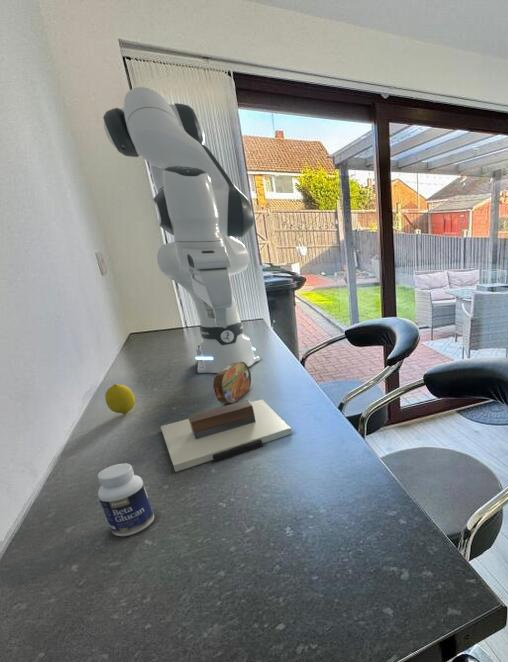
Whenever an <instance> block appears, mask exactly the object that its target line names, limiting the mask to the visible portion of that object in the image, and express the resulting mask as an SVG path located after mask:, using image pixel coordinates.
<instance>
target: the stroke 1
mask: <svg viewBox="0 0 508 662" xmlns="http://www.w3.org/2000/svg"><path fill="white" fill-rule="evenodd" d="M229 458H232V456H231V453H230V451H229V450H227V451H224V452H220V453H217V454H214V455H213V459H214V460H213V461H214V463H217V462H219V461H223V460H225V459H229Z"/></svg>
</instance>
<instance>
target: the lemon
mask: <svg viewBox="0 0 508 662" xmlns="http://www.w3.org/2000/svg"><path fill="white" fill-rule="evenodd" d="M104 396H105V397H104V400H105V403H106V407H108V408H109V410H110V411H112V412H113V413H117V414H122V415H127V414H128V413H129V412H130V411H131V410H132V409H133V408H134V406H135V404H136V397H135V395H134V392H133V391H132V389H131V388H129V387H128V386H126V385H124V384H118V383H114V384H113V385H111V386H110V387H109V388H108V389H107V390H106V392H105V395H104Z"/></svg>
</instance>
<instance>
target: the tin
mask: <svg viewBox="0 0 508 662" xmlns="http://www.w3.org/2000/svg"><path fill="white" fill-rule="evenodd" d="M212 383H213V385H212V387H213V391H214V395H215V397H216V399H217V401H218V402H219V403H221V404H234V403H237V402H238V401H239V400H240V398H242V397H243V396H244V395H245V394H246V393H247V392H248V391H249V390H250V388H251V384H252V375H251V371H250V368H249V367H248V366H247V365H246V363H244V362H237V363H232V364H230V365H229V366H227V367H226V368H225V369H223V370H222V371H220V372H219V373H216V374H215V376H214V378H213V382H212Z"/></svg>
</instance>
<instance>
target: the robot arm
mask: <svg viewBox="0 0 508 662" xmlns="http://www.w3.org/2000/svg"><path fill="white" fill-rule="evenodd" d="M102 118H103V128H104V133H105V135H106V137H107V139H108V140H109V142H110V143H111V145H113V147H114V148H115V149H116V151H117V152H118V153H120V154H121V155H123V156H125V157H132V158H139V156H140V157H142V158H143V159H144V160H145V161H146V162H147V163H149V167H150V171H151V176H152V180H153V182H154V185H155V188H156V191H157V193H156V195H155V196H154V197H153V199H152V200H153V203H154V205H155V208H156V212H157V215H158V223H159V227H160V228H161V229H163V230H164V231H166V232H167V233H168V234H170V235H171V236H174V237H173V239H174V240H173V241H171V242H167V243H164V244H162V245H160V247H159V248H158V251H157V254H156V260H157V261H156V262H157V265H158V267H159V269H160V271H161V272H162V274H163V275H164V276H165V277H167V278H168V279H170V280H172V281H173V282H175V283H177V284H179V285H180V286H181V287H182V288H183V289H184V290H185V291H186V292H187V293H188V294H189V296H190V297H191V299H192V301H193V304H194V306H195V309H196V313H197V316H198V320H199V332H200V336H201V338H202V340H201V343H200V344H198V345H197V347H196V348H195V350H196V355H197V356H195V360H197V368H196V369H197V373H198V374H207V373H209V374H218V373H219V372H220V371H222V370H223V369H225V368H226V367H227V366H229V365H230V364H232V363H237V362H244V363H246V365H247V366H248V368H249V367H251V366H253V365H254V364H255V363H257V362H259V361H261V358H260V356H258V355H255V353H254V351H256V348H255V347H253V346H252V342H251V338H250V337H249V336H248V335H246V334H245V333H244V326H243V323H242V321H241V320H240V315H239V310H238V306H237V305H238V304H237V301H236V298H235V297H234V295H233V291H232V283H231V282H232V281H231V276H234V275H237V274H240V273H242V272H245V271H246V270H247V269H248V267H249V264H250V255H249V252H248V249H247V248H246V246H245V244H243V243H242V242H241V241H240V240H238V239H236V238H243V237H245V236H246V234H247V233H248V232H249V231H250V230H251V229H252V228H253V226H254V213H253V209H252V206H251V204H250V202H249V199H248V198H247V196H245V194H244V193H243V192H242V191H241V190H240V189H238V188H237V186H236V185H235V184H234V183H233V181H232V180H231V178H230V177H229V175H228V174H227V173H226V171H225V170H224V168H223V167H222V165H221V164H220V162H219V161H218V160H217V158H216V157H215V156H214V154H213V153H212V152H211V150H210V149H209V148H208V146H206V145H204V144H205V129H204V126H203V123H202V121H201V119H200V118H199V116H198V114H196V112H195V110H194V109H193V108H192V107H191V106H190V105H188V104H184V103H177V102H176V103H175V102H174V104H171V103H169V102H167V100H166V98H164V97H163V96H162V95H161V94H160V93H158V92H157V91H155V90H153V89H151V88H148V87H143V86H139V87H134V88H131V89H130V90H128V91H127V92H126V93H125V96H124V99H123V107H122V108H118V107H114V108H112V109H109V110H107V111H106V112H105V113H104V115H103V116H102Z"/></svg>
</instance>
